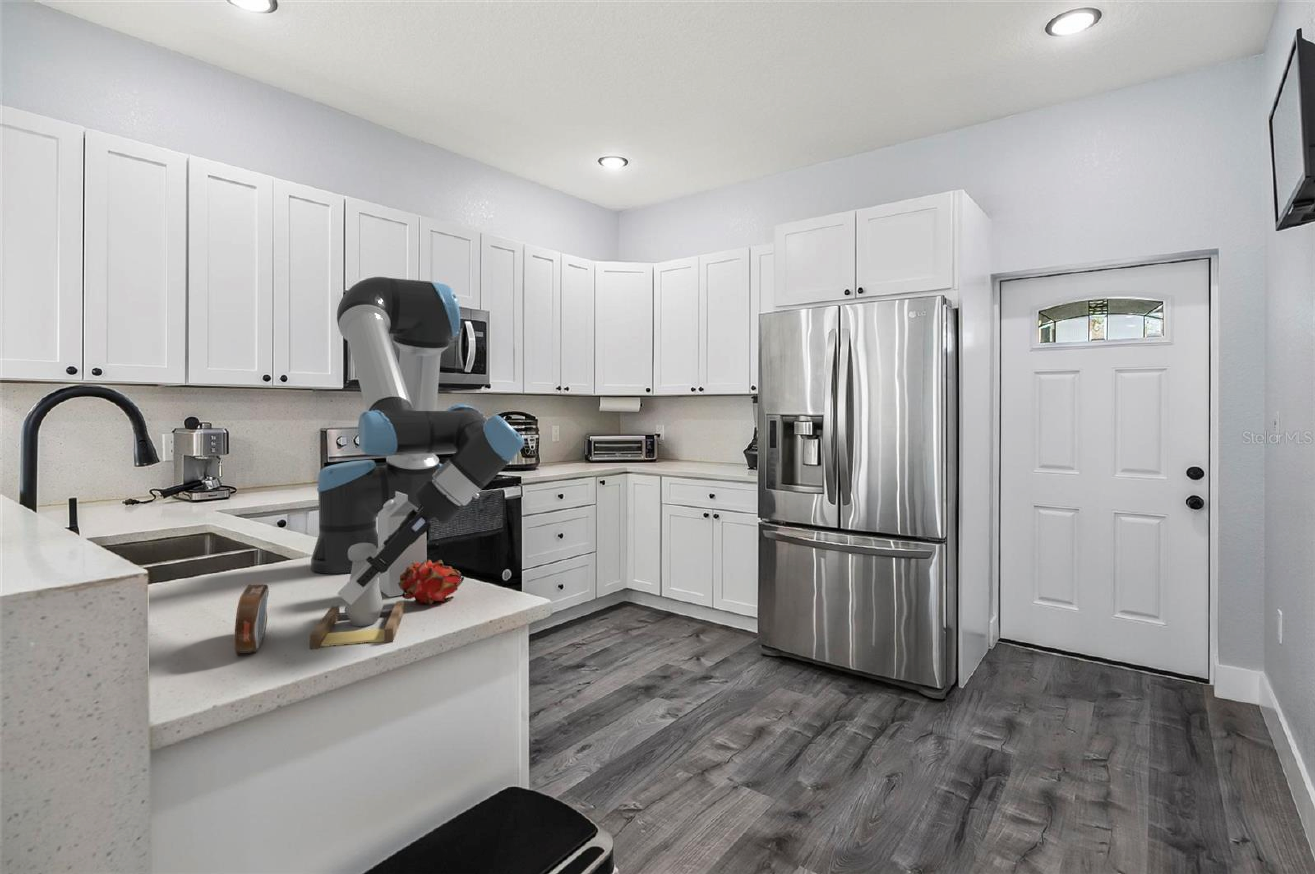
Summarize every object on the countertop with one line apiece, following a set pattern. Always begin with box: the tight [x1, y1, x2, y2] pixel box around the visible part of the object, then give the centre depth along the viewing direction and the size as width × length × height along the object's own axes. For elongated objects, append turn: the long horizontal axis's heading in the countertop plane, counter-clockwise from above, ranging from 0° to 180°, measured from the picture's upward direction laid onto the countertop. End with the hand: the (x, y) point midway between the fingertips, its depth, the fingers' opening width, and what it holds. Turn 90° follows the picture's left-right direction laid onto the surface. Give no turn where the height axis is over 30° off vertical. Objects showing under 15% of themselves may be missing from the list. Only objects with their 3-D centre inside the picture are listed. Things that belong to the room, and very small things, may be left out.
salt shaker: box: [344, 543, 384, 627], centre depth 110 cm, size 6×6×13 cm
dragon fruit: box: [398, 559, 465, 605], centre depth 122 cm, size 8×8×12 cm
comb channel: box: [309, 600, 405, 650], centre depth 107 cm, size 15×11×2 cm
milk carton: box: [377, 492, 428, 598], centre depth 129 cm, size 7×7×19 cm
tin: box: [234, 583, 270, 655], centre depth 100 cm, size 15×3×8 cm, turn 24°
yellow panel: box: [320, 628, 385, 647], centre depth 103 cm, size 5×9×1 cm, turn 105°
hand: (352, 587), depth 110 cm, fingers open, 13 cm apart
